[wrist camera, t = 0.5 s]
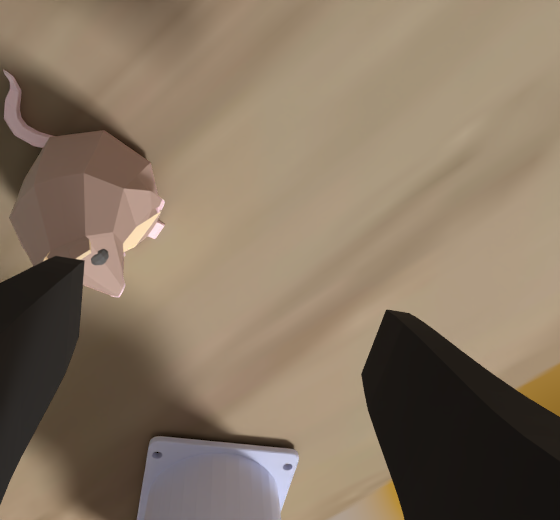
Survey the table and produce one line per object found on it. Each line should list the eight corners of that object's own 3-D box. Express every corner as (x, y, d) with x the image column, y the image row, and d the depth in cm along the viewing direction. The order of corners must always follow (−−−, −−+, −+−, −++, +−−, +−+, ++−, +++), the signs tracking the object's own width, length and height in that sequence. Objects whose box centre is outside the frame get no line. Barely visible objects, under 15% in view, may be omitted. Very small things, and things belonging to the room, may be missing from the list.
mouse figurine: (64, 30, 17) (-28, 38, 11) (192, 216, 20) (177, 300, 14) (-54, 106, 17) (-200, 154, 11) (90, 273, 21) (35, 377, 15)
